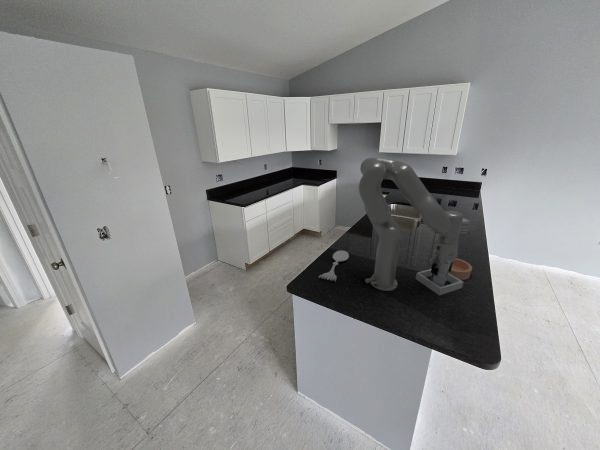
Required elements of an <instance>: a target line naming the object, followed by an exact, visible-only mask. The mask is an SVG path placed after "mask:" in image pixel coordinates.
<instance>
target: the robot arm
mask: <svg viewBox="0 0 600 450" xmlns="http://www.w3.org/2000/svg"><path fill="white" fill-rule="evenodd" d="M359 170H360V173H361V175H362V177H361V178H360V180H359V184H358V192H359V193H358V194H359V196H360V198H361V200H362V202H363V205H364V211H365V214H366V215H367V217H368V219H369V221H370V223H371V224H372V227H373V228H374V230H375V232H376V233H377V235H378V237H379V238H378V239H379V240H378V243H377V246H376V252H375V253H376V254H375V263H374V273H372V275H371V276H370V278H365V280H364V281H365V283H366V284H369V283H370V285H371V286H373V288H375V289H377V290H380V291H383V292H384V291H385V292H389V291H390V292H392V291H394V290H395V289H397V288H398V281H397V279H396V273H397V267H398V266H397V265H398V260H399V259H398V258H399V252H400V249H401V248H400V247H401V244H402V242H403V237H404V234H403V230H402V228H401V227H400V225H399V224H398V223H397V222H396V221H395V219H394V218H393V217H392V211H391V207H390V205H389V204H388V203H387V200H386V198H385V196H384V194H383V191H382V189H381V185H382V182H383V180H391V181H392V182H393V183H394V184H395V185H396V187H397V188H398V190H399V191H400V193H401V194H402V195H403V197H404V198H405V199H406V200H407V202H408V203H409V204H410V206H412V207H413V208H414V210H416V211H417V212H418V213H419V214H420V215H421V221H422V222H423V224H424V225H425V226H427V227H428V228H429V229H430V230H431V231H432V232H433V233H435V234H438V240H437V241H436V245H435V247H434V250H433V254H432V257H431V258H430V259H429V260H428V261H429V264H430V266H431V268H430V269H431V273H432V274H434V275H435V276H436V275H437V274H438V269H439V268H438V266H439V265H440V264H445V263H446V262H447V261H449V260H451V261H450V262H451V264H450V268H449V272H450V271H451V268H452V264H453V263H454V261H455V260H456V258H457V257H458V256H459V253H458V252H459V238H460V235H461V234H460V230H461V225H462V221H463V218H464V214H463V213H462V212H460V211H457V210H444V209H443V207H442V206H441V205H440V204H439V203H438V201H437V200H436V199H435V198H434V197H433V195H432V194H431V193H430V192H429V190H428V189H427V188H426V186H425V185H424V183H423V182H422V181H421V179H420V178H419V176H418V175H417V173H416V172H415V170H414V169H413V167H412V166H410V164H408V163H405V162H403V161H399V160H391V159H385V158H377V157H368V158H366V159H364V160H363V161H362V162H361V164H360V168H359ZM436 259H438V261H437V260H436ZM457 259H458V258H457ZM435 262H438V263H437V265H436V264H435Z"/></svg>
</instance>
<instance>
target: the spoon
mask: <svg viewBox="0 0 600 450" xmlns="http://www.w3.org/2000/svg"><path fill="white" fill-rule="evenodd" d="M349 257H350V254H349V253H348V251H346V250H337V251H335V252H334V253H333V254H332V259H333V260H334V262H332V267H331V269H330V270H329V271H328V272H324V273H322V274H320V275H319V276H318V278H319V279H320V278H321V279H323V280H326V281H334V282H336V281H337V279H338V276H337V275H336V274H335V268H336V267H337V266H338V265H339V263H340V262H344V261H347V260H349Z"/></svg>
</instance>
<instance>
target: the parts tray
mask: <svg viewBox="0 0 600 450" xmlns="http://www.w3.org/2000/svg"><path fill="white" fill-rule="evenodd" d="M430 277H432V273H431V268H430V269H427V270H426V269H425V270H422V271H418V272H416V275H415V280H417V281H418V282H419V283H421V284H422V285H423V286H426V288H428V289H430V290H431V291H432V292H433V293H435V294H436V295H438V296H442V295H445V294H448V293H450V292H454V291H457V290H461V289H462V288H463V286H464V280H459V279H458V278H456V277H454V276H453V275H451V274H449V273H448V275H447V279H446V282H449V283H450V284H445V285H444V286H443V287H439V286H438V285H436V284H435V283H433V282H432V281H431V279H429V278H430Z"/></svg>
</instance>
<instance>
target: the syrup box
mask: <svg viewBox="0 0 600 450" xmlns="http://www.w3.org/2000/svg"><path fill="white" fill-rule="evenodd" d="M436 260H437V261H438V259H436ZM450 261H451V260H449V261H447V262H446V263H445V264H440V265H439V266H438V268H439V269H438V274H437V275H436V276H435V275H434V274H432V276H430V281H432V282H433V283H435V284H436V285H438V286H439V287H443V286H446V282H447V280H446V279H447V275H448V272H449V268H450V264H451V262H450ZM437 263H438V262H435V264H436V265H437Z"/></svg>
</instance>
